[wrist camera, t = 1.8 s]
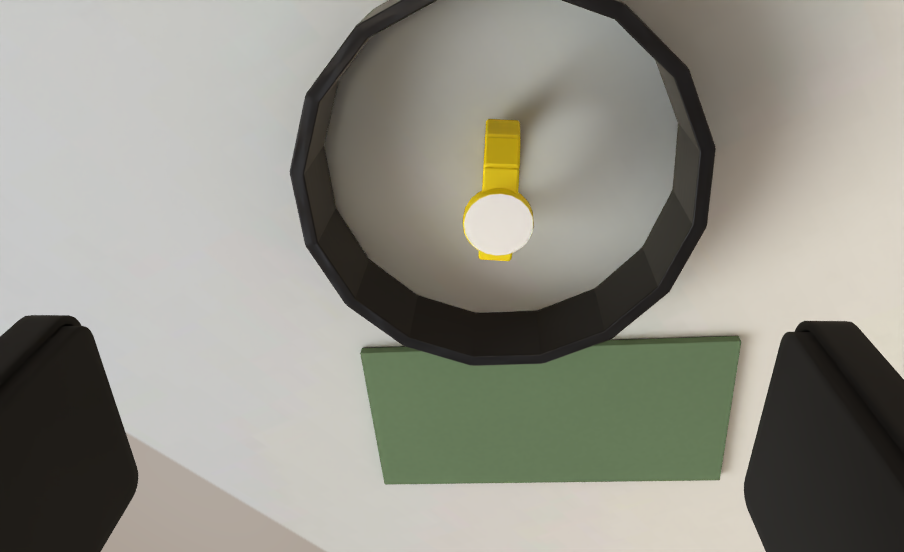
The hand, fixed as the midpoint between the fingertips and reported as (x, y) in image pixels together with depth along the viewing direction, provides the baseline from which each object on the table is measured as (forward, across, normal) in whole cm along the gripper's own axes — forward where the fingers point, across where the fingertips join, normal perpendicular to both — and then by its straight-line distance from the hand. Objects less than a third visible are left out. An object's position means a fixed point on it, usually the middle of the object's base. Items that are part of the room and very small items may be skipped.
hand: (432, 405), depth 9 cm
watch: (+23, -1, +5) cm, 23 cm away
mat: (+23, -4, +20) cm, 30 cm away
